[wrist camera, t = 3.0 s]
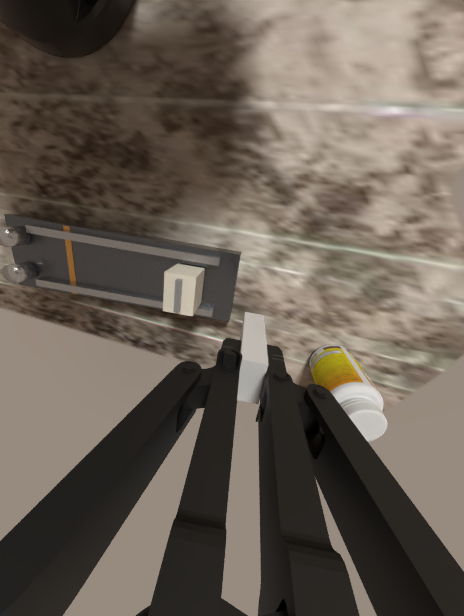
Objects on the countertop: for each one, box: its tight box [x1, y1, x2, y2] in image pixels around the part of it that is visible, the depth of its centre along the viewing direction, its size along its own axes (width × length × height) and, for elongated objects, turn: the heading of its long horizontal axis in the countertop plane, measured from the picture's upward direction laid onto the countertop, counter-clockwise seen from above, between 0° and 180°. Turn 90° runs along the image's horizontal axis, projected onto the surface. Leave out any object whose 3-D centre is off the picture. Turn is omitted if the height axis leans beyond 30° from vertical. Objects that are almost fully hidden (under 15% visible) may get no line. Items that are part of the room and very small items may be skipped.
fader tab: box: [163, 264, 205, 316], centre depth 23 cm, size 4×3×5 cm
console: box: [0, 214, 241, 322], centre depth 26 cm, size 8×26×4 cm, turn 81°
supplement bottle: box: [309, 345, 387, 441], centre depth 25 cm, size 6×6×10 cm
